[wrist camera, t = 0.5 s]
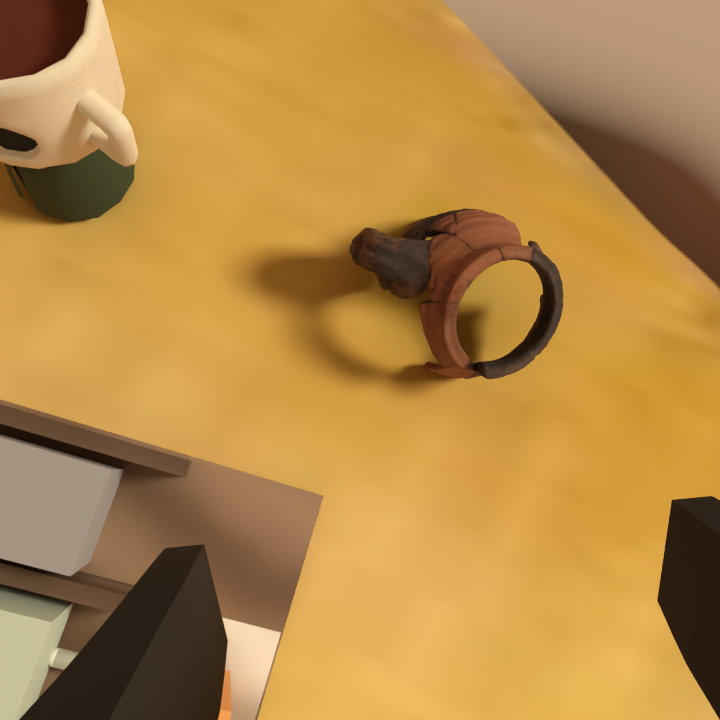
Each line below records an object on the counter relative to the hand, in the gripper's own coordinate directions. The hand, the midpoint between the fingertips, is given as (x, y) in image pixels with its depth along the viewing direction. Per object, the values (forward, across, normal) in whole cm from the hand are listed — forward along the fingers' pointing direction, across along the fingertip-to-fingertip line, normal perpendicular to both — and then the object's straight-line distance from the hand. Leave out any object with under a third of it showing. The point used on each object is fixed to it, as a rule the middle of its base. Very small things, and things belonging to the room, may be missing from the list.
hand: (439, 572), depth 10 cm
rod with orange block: (+14, +15, +16) cm, 26 cm away
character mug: (+28, +16, -4) cm, 32 cm away
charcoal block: (+18, +17, +10) cm, 27 cm away
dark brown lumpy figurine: (+28, -4, +5) cm, 29 cm away
